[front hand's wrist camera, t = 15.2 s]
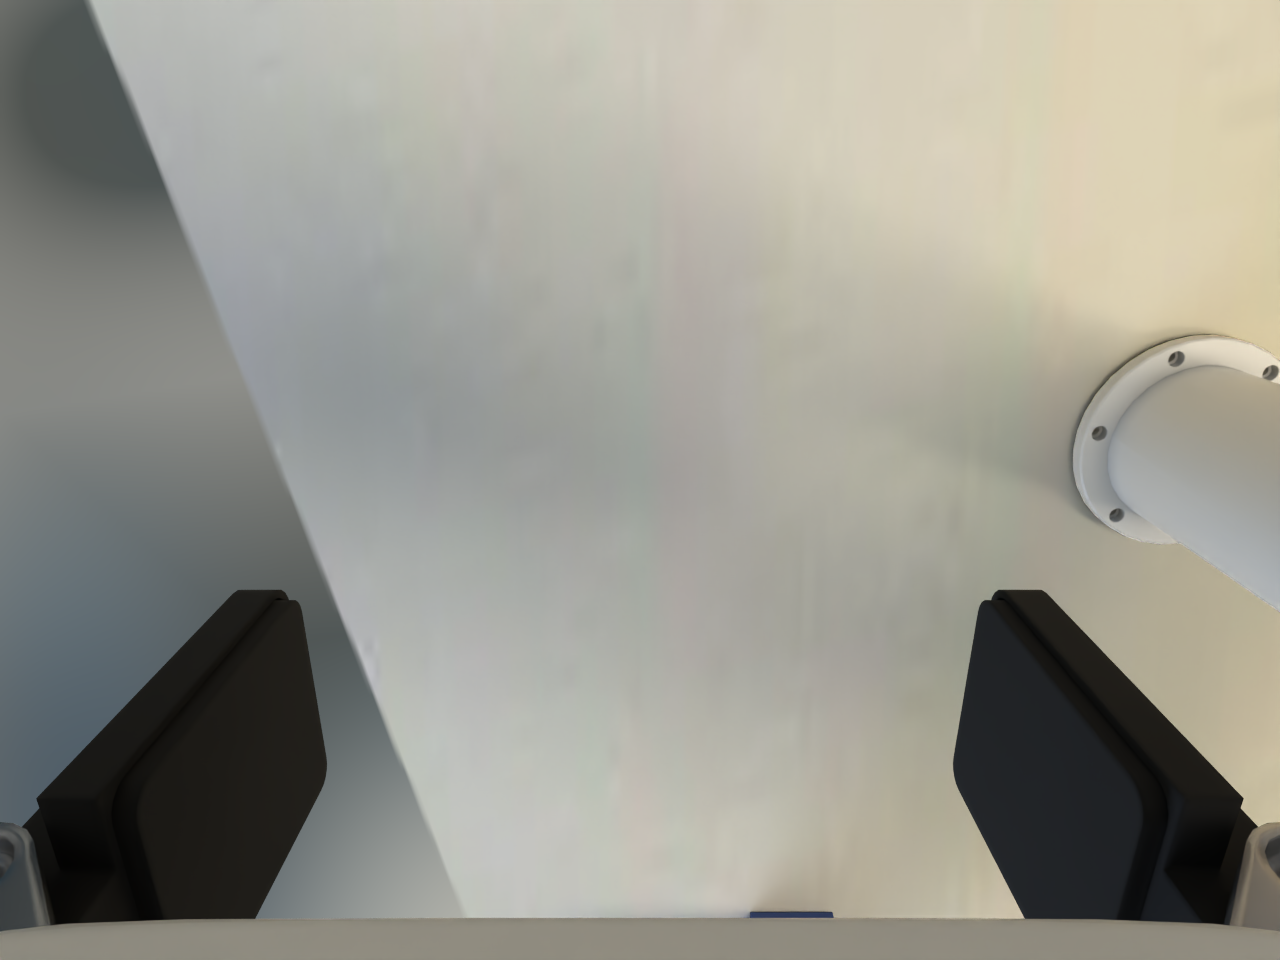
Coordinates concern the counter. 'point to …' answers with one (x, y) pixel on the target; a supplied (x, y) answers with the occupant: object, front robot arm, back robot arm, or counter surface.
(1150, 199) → the counter surface
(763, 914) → the block
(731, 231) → the counter surface
